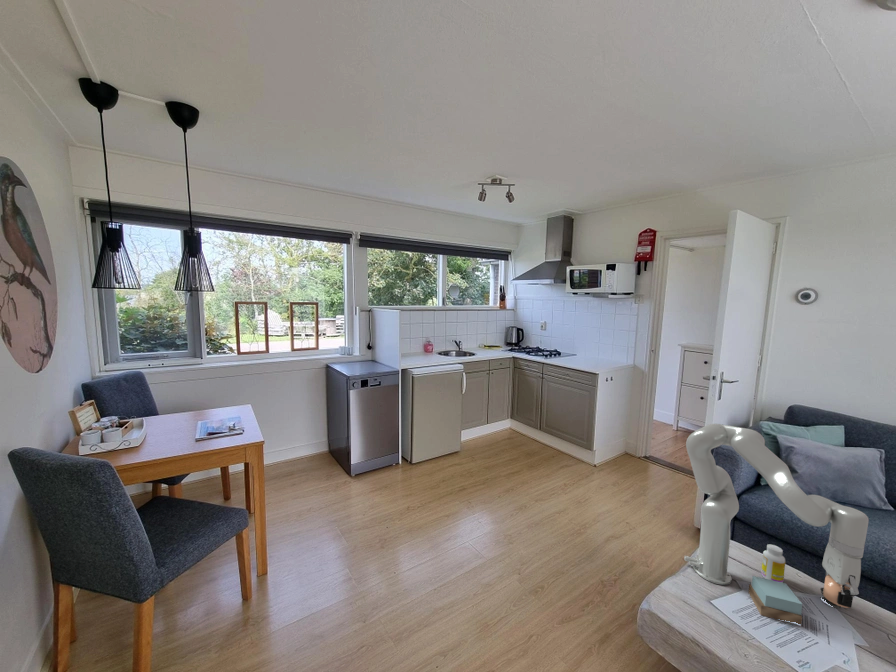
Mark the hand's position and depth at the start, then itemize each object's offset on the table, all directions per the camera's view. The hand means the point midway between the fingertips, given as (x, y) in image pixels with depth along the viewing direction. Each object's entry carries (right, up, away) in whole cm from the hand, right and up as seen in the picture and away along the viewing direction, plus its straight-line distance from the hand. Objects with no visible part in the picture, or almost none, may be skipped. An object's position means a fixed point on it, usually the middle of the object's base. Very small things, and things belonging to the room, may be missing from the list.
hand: (837, 596), depth 117 cm
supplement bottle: (+3, -12, +26) cm, 29 cm away
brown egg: (0, -1, 0) cm, 1 cm away
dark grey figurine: (+14, -13, +15) cm, 24 cm away
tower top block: (-10, -9, +11) cm, 18 cm away
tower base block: (-11, -13, +11) cm, 20 cm away
